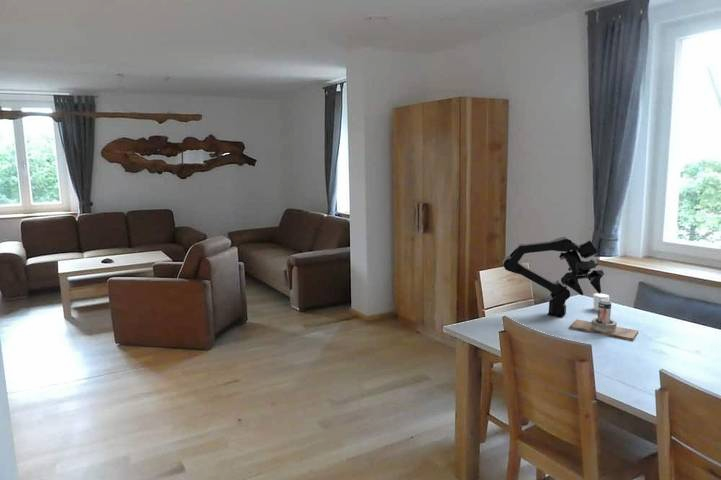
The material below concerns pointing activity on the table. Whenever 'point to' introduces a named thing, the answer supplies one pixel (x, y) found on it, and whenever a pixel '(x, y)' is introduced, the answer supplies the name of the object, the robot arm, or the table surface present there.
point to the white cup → (597, 298)
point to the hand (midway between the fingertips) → (591, 293)
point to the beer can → (604, 311)
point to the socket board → (604, 329)
